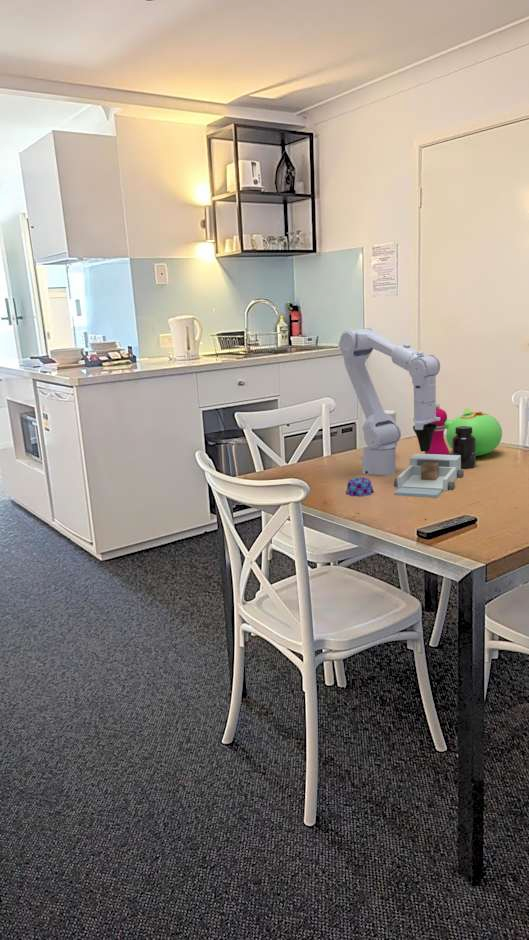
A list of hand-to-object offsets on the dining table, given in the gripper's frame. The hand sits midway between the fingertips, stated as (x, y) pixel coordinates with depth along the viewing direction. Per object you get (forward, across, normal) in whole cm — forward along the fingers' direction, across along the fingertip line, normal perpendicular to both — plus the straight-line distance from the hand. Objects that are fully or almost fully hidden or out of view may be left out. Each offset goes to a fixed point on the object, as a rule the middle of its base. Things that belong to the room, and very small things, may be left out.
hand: (425, 451), depth 182 cm
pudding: (+10, -15, +14) cm, 23 cm away
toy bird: (+10, +39, -6) cm, 41 cm away
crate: (+8, +1, -1) cm, 8 cm away
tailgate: (+9, -12, -1) cm, 15 cm away
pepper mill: (+10, +19, +1) cm, 22 cm away
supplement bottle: (+10, +24, -6) cm, 27 cm away
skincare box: (+10, +30, +21) cm, 38 cm away
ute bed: (+10, +1, -1) cm, 10 cm away
